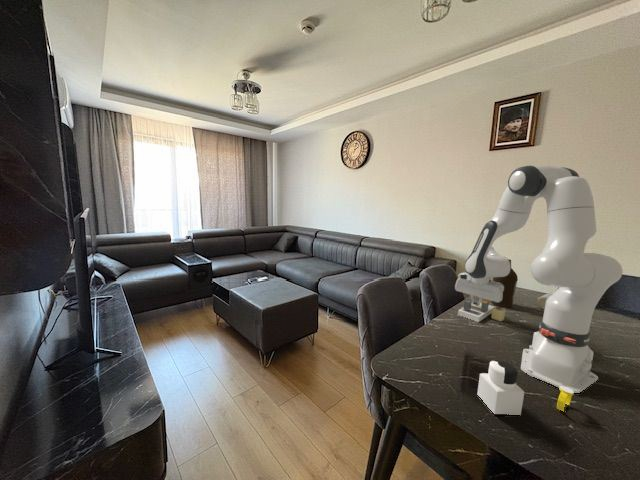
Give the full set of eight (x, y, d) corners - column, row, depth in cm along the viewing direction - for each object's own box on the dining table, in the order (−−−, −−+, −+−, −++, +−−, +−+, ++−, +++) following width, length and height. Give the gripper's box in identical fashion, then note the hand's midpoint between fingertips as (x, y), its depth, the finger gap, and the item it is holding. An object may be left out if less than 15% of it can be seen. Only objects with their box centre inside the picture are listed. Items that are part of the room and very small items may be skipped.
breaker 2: (485, 312, 120) (486, 302, 119) (480, 310, 122) (482, 301, 121) (487, 310, 122) (489, 301, 121) (483, 309, 124) (484, 299, 123)
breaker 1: (467, 310, 121) (468, 302, 120) (463, 309, 123) (464, 301, 122) (470, 309, 123) (471, 301, 122) (466, 307, 125) (467, 300, 124)
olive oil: (492, 306, 135) (498, 260, 131) (487, 299, 145) (493, 256, 141) (516, 309, 131) (523, 262, 127) (510, 302, 140) (516, 258, 137)
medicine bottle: (500, 395, 72) (506, 356, 70) (521, 416, 65) (528, 374, 63) (476, 395, 72) (481, 356, 70) (494, 416, 65) (500, 374, 63)
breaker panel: (478, 322, 116) (478, 316, 116) (457, 315, 123) (458, 309, 123) (494, 311, 128) (494, 306, 128) (474, 305, 135) (475, 300, 135)
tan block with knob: (501, 321, 118) (502, 310, 117) (491, 318, 121) (492, 307, 120) (504, 319, 120) (505, 308, 119) (494, 316, 123) (495, 305, 122)
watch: (559, 402, 70) (563, 382, 70) (572, 409, 68) (577, 388, 67) (551, 409, 67) (556, 389, 66) (565, 417, 65) (570, 396, 64)
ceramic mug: (534, 307, 134) (537, 293, 133) (542, 304, 138) (544, 291, 137) (560, 315, 125) (563, 301, 124) (567, 312, 129) (570, 298, 128)
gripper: (507, 282, 117) (502, 310, 119) (460, 271, 133) (457, 296, 135) (502, 284, 113) (498, 314, 115) (455, 273, 129) (452, 299, 131)
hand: (476, 304), depth 125 cm, fingers closed
